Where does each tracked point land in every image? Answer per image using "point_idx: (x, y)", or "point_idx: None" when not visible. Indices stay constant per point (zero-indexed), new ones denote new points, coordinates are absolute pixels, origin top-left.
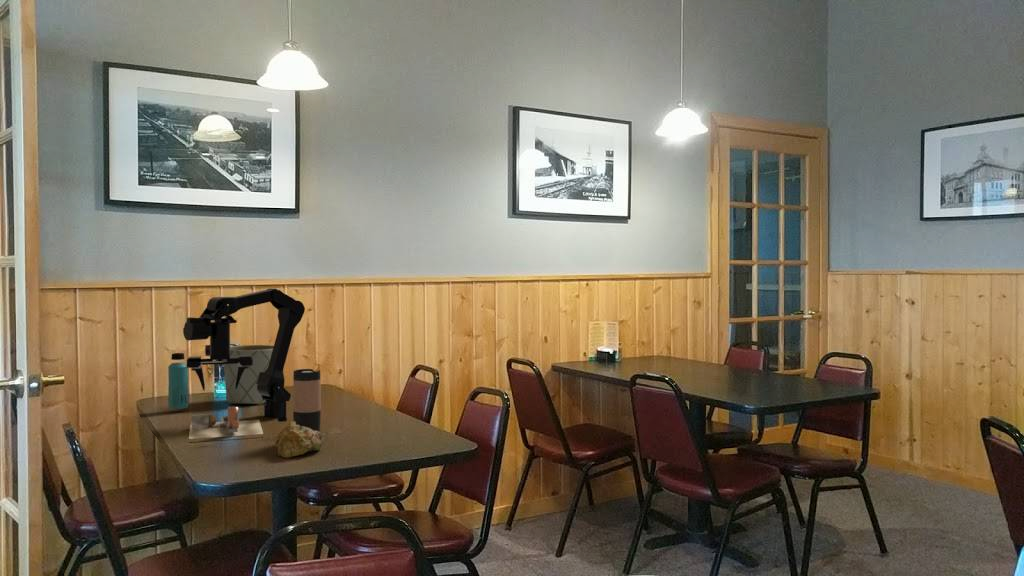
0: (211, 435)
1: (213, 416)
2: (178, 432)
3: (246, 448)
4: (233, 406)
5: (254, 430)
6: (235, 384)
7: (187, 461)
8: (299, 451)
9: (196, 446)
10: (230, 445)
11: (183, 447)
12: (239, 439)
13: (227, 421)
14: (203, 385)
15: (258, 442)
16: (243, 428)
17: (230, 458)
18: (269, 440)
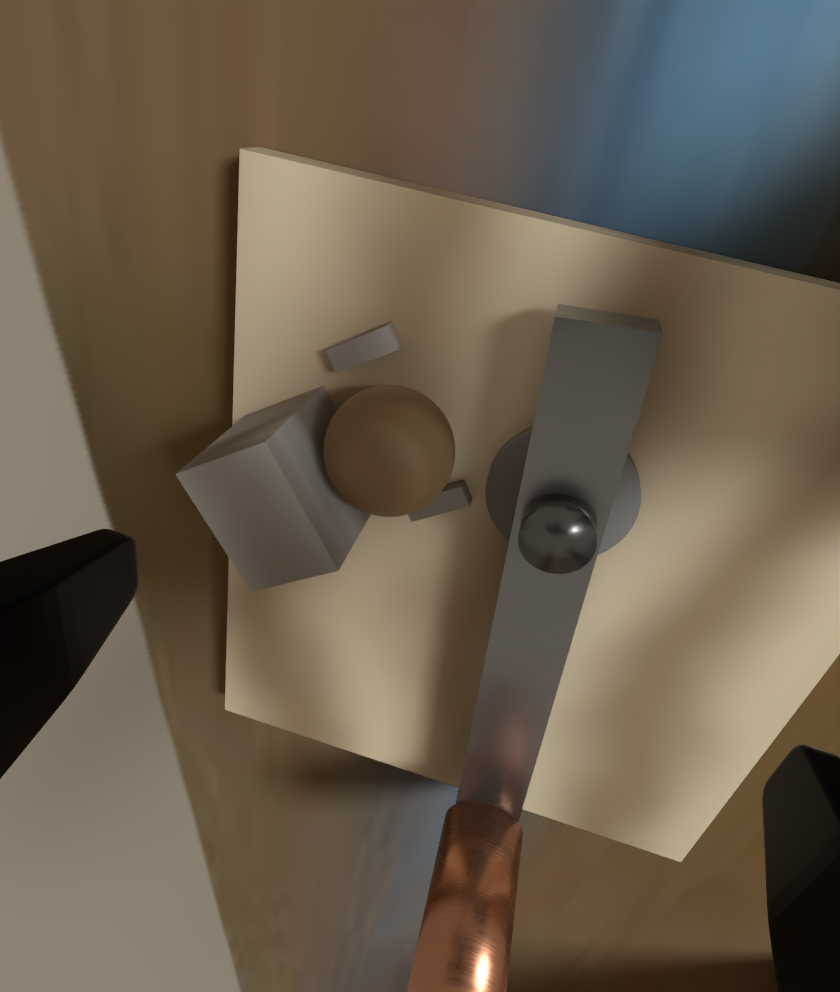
0: (361, 713)
1: (407, 506)
2: (160, 323)
3: None
4: (469, 989)
5: (682, 760)
6: (794, 882)
7: (231, 917)
8: None
9: (274, 766)
10: None
11: (212, 746)
12: None
13: (524, 613)
14: (46, 691)
15: (597, 883)
16: (642, 659)
17: (385, 977)
18: (676, 888)
